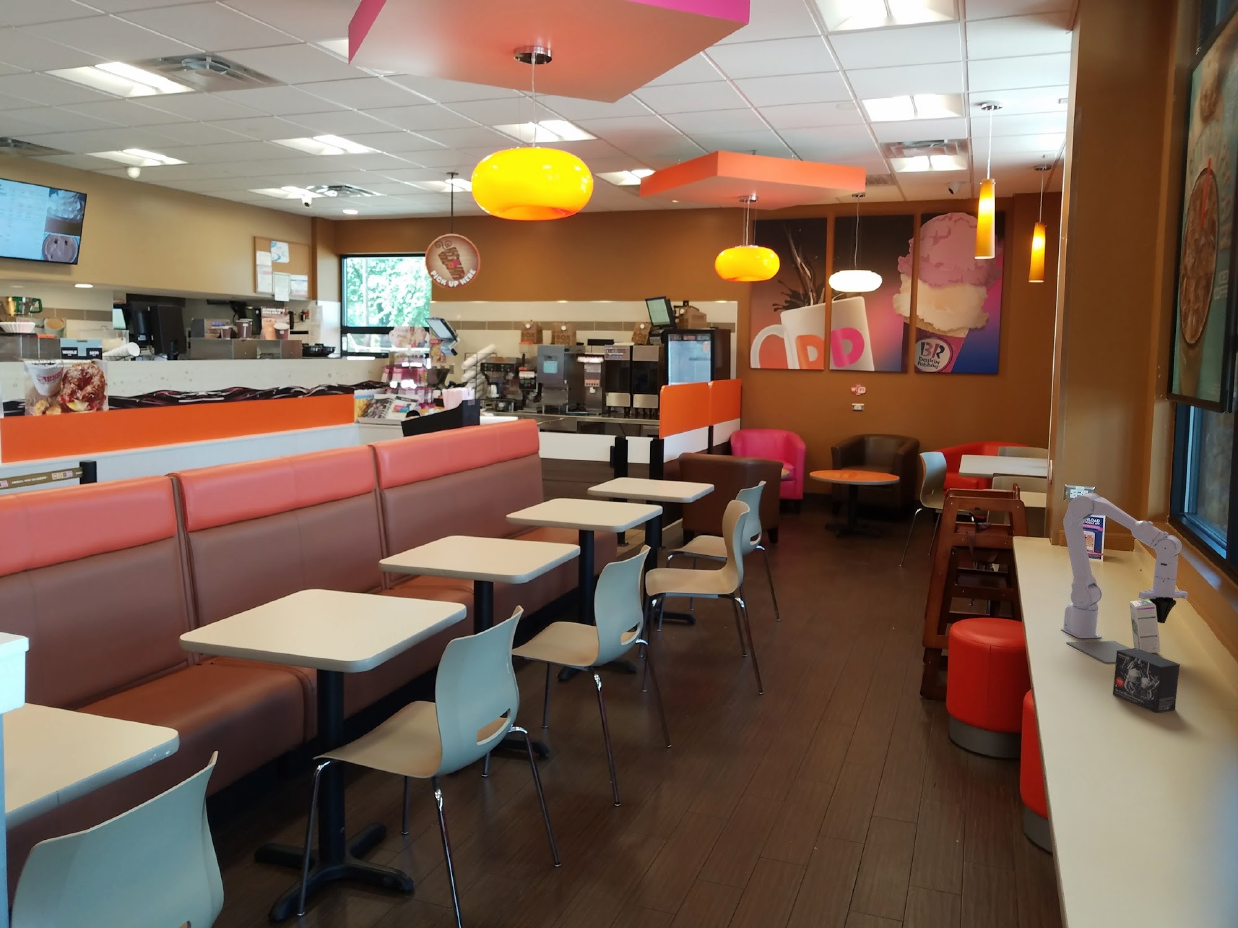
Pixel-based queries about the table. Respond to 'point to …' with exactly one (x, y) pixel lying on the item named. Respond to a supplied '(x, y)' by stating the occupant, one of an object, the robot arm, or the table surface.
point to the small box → (1146, 679)
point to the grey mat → (1100, 649)
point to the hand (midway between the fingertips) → (1160, 622)
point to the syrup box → (1145, 626)
